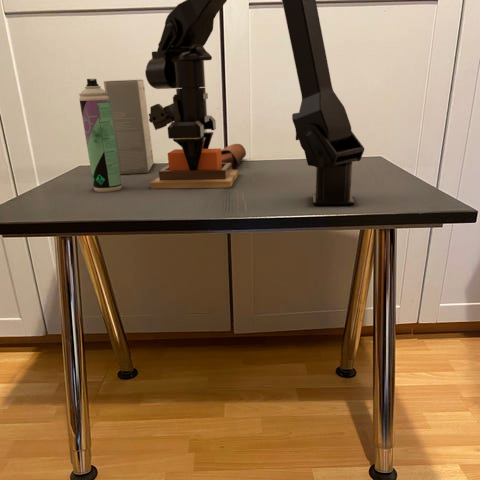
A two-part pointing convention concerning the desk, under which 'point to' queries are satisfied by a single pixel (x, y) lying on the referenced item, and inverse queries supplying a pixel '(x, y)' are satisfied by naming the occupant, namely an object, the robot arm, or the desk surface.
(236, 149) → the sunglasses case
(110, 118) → the spray can
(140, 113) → the hard drive box
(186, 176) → the wooden tray
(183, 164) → the orange rectangular block
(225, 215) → the desk surface
